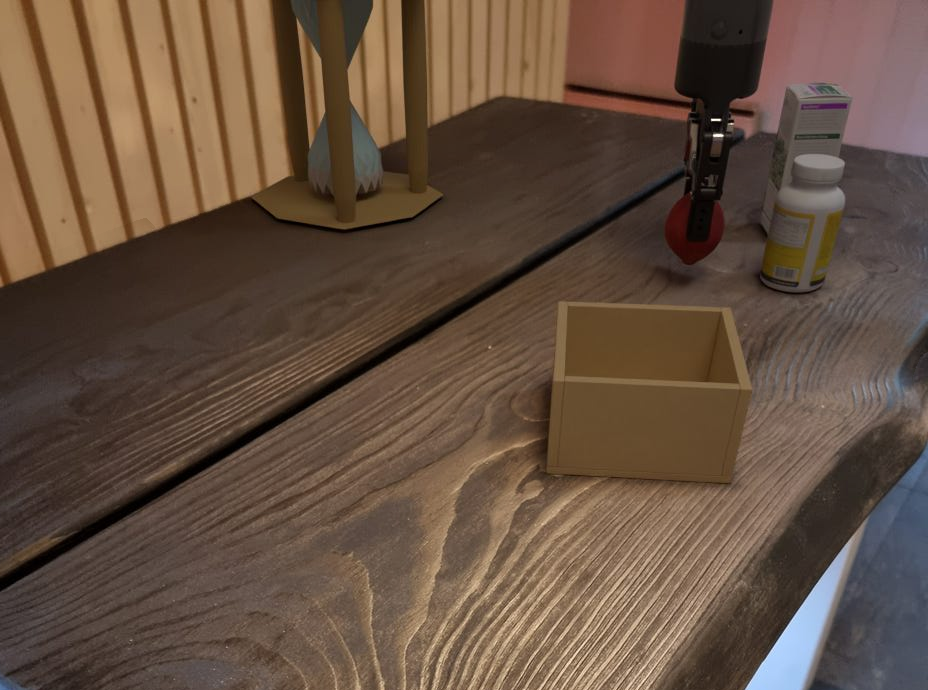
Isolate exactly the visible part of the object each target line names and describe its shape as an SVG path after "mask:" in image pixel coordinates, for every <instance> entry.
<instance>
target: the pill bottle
mask: <svg viewBox="0 0 928 690" xmlns="http://www.w3.org/2000/svg"><path fill="white" fill-rule="evenodd" d="M845 164H846V162H845V161H844V160H843V159H842V158H840V157H838V158H837V157H834V156H829V155H823V154H806V155H800V156H798V157H796V158H795V159H794V161H793V166H792V170H791V176H792V177H793V178H792V182H791V183H788V184H786V185H785V186H783V187H782V188H781V189H780V190H779V192H778V194H777V196H776V200H775V204H774V208H773V213H772V218H771V223H770V227H769V232H768V235H767V237H766V242H765V247H764V251H763V255H762V262H761V265H760V271H759V277H760V280H761V282H762V283H763V284H764V285H765V286H767V287H769V288H772V289H773V290H777V291H781V292H785V293H786V292H787V293H807V292H812V291H814V290H818V289H819V288H820V287H821V286H823V284H824V282H825V281H826V277H827V274H828V270H829V265H830V262H831V258H832V255H833V251H834V246H835V243H836V239H837V235H838V232H839V229H840V224H841V220H842V217H843V213H844V209H845V206H846V195H845V193H844V192H843V191H842V189H841V188H840V187H838V183H839V181H841V180H842V177H843V175H844V170H845V166H846V165H845Z"/></svg>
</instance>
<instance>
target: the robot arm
mask: <svg viewBox="0 0 928 690" xmlns="http://www.w3.org/2000/svg"><path fill="white" fill-rule="evenodd" d="M774 2H775V1H774V0H684V5H683V11H682V19H681V20H682V21H681V29H680V36H679V43H678V51H677V59H676V66H675V67H676V68H675V76H674V83H673V86H674V90H675V92H676V93H678V94H679V95H680V96H682V97H685V98H689V99H692V100H691V101H690V104H689V108H690V111H688V113H687V119H686V137H685V138H686V139H685V142H684V156H683V162H684V166H685V167H684V168H683V174H684V178H685V184H684V190H683V196H685V195H686V194H688V193H690V197H691V202H690V209H689V216H688V223H687V229H686V238H687V240H688V241H691V242H705V241H707V240H708V239H709V236H710V230H711V224H712V217H713V211H714V205H715V201H721V198H722V197H723V194H724V190H723V189H724V184H725V183H724V182H725V177H726V173H727V168H728V164H729V163H728V162H729V157H730V151H731V148H732V147H731V146H732V143H733V141H734V130H735V119H734V118H732V112H731V111H730V105H731V102H733V101H735V100H737V99H739V100H744V99H748V98H750V97H751V96H753V95H754V94H756V92H757V91H758V89H759V85H760V79H761V76H762V75H761V74H762V69H763V63H764V57H765V52H766V46H767V40H768V35H769V29H770V23H771V19H772V12H773V6H774ZM711 176H712V177H713V178H712V179H713V180H712V185H709V183H710V182H709V178H710V177H711ZM702 183H703V184H704V185H705V186H701V185H702Z"/></svg>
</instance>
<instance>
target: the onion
mask: <svg viewBox="0 0 928 690" xmlns="http://www.w3.org/2000/svg"><path fill="white" fill-rule="evenodd" d="M701 186H705V185H704V184H703V183H702V185H701ZM690 202H691V197H690V193H688V194H686V195H685V196H684V195H683V196H682V197H681V198H679V199H678V200H677V201H676V202H675V203H674V205H673V206H672V208H671V209H670V210H669V213H668V216H667V218H666V220H665V224H664V239H665V241H666V245H667V246H668V247H669V249H670V250H671V251H672V253H673V254H674V255H675V256H677V257H678V259H679V260H680V261H681V262H682V264H683V265H685V266H689V267H690V266H693V265H696V264H697V263H698V262H700V261H701V260H703V259H705V258H707V257H709V256H710V255H711V254H712V253H713V252H714V251H715V250H716V248H717V247H718V245H719V244H720V242H721V240H722V238H723V235H724V232H725V227H726V219H725V214H724V210H723V208H722V207H721V205H720V203H719V200H717V201H715V205H714V211H713V217H712V224H711V230H710V236H709V239H708V240H707V241H705V242H691V241H688V240H687V238H686V229H687V223H688V216H689V209H690Z"/></svg>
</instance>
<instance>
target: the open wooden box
mask: <svg viewBox="0 0 928 690" xmlns="http://www.w3.org/2000/svg"><path fill="white" fill-rule="evenodd" d="M556 311H557V312H556V327H555V337H554V338H555V340H554V352H553V353H554V354H553V367H552V380H551V381H552V382H551V395H550V409H549V410H550V411H549V425H548V437H547V438H548V439H547V452H546V455H547V456H546V466H545V467H546V469H545V474H548V475H549V474H550V475H568V476H588V477H605V478H624V479H640V480H641V479H642V480H659V481H660V480H661V481H676V482H677V481H678V482H680V481H681V482H696V483H697V482H698V483H712V484H713V483H717V484H731V482H732V480H733V479H732V478H733V475H734V470H735V466H736V461H737V457H738V452H739V450H740V449H739V448H740V443H741V440H742V435H743V432H744V427H745V423H746V418H747V416H748V415H747V414H748V411H749V406H750V403H751V399H752V398H751V397H752V394H753V387H752V383H751V379H750V375H749V371H748V368H747V364H746V360H745V356H744V352H743V349H742V345H741V342H740V338H739V334H738V329H737V326H736V322H735V319H734V314H733V311H732V307H725V306H723V307H722V306H721V307H720V306H719V307H718V306H698V305H697V306H695V305H693V306H692V305H669V304H645V303H644V304H642V303H640V304H639V303H616V302H615V303H614V302H587V301H558V302H557V310H556Z"/></svg>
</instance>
